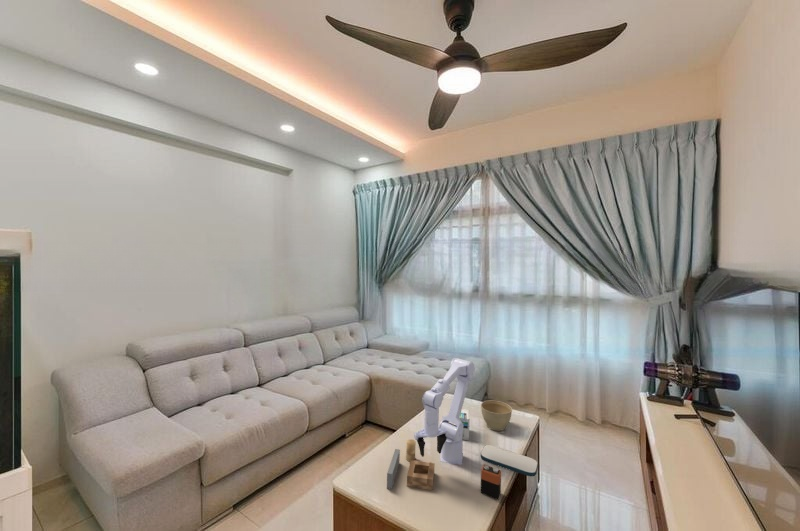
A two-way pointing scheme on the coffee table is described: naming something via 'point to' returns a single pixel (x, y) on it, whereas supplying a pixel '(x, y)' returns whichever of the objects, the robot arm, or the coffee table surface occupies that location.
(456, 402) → the robot arm
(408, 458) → the oak dowel
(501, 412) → the planter bowl
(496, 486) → the battery
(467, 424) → the light bulb box
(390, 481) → the slate stop wall
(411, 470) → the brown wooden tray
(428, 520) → the coffee table surface
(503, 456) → the white teal rounded slab
